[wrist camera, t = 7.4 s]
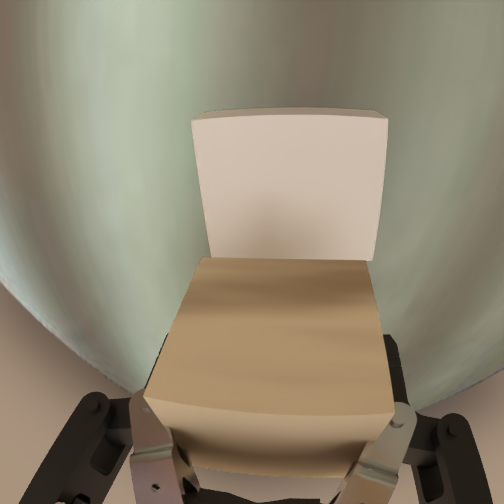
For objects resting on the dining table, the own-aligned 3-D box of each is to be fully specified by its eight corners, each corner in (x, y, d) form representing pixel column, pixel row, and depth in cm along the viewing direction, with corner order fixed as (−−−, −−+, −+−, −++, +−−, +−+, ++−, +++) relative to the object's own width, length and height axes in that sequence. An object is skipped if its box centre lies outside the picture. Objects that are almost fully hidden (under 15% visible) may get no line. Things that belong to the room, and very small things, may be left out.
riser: (205, 111, 24) (190, 120, 21) (375, 110, 22) (388, 119, 19) (221, 234, 31) (211, 257, 28) (365, 236, 29) (372, 260, 25)
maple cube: (202, 257, 12) (142, 396, 7) (365, 260, 11) (395, 412, 6) (223, 355, 15) (195, 466, 10) (344, 360, 14) (348, 476, 9)
